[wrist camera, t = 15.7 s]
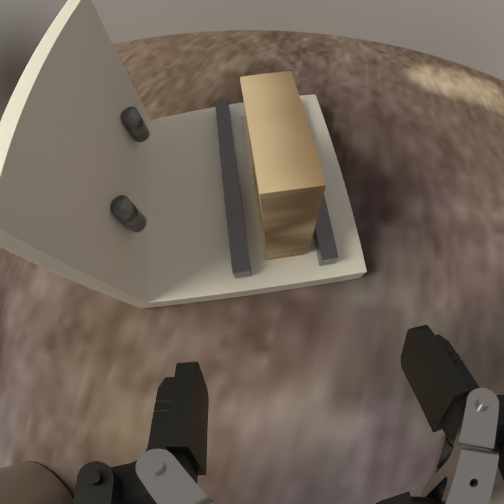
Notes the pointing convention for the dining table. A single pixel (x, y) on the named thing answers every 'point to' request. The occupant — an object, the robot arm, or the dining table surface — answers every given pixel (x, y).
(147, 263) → the l-shaped angle bracket
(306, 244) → the wooden block
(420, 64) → the dining table surface
